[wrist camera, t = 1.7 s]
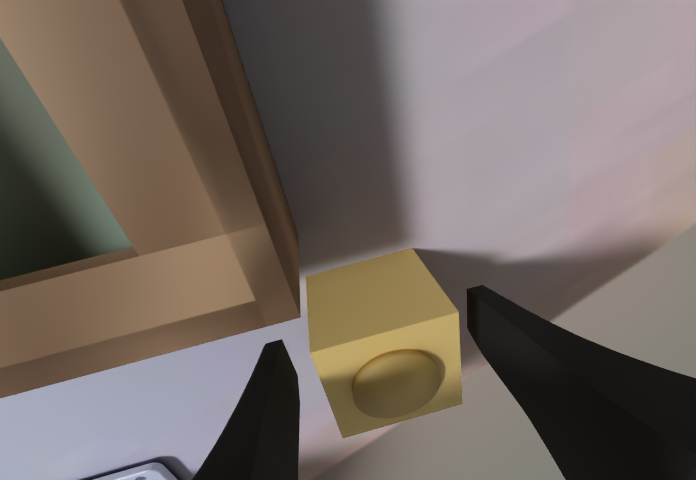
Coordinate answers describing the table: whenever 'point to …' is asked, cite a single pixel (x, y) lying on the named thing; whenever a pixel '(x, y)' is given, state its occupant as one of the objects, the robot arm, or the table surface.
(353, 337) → the yellow dimpled cube
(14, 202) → the piece box
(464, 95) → the table surface
